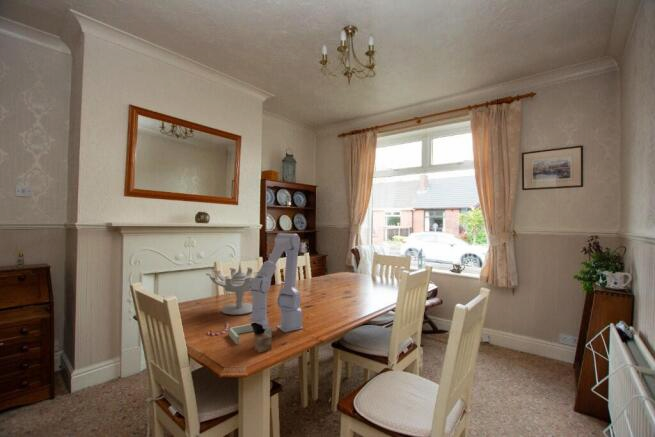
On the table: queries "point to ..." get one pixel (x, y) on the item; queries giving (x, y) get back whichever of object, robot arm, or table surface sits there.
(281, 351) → the table surface
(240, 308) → the candelabra
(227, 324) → the candy cane
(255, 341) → the tan cube
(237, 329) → the sage corner frame
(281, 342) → the table surface
